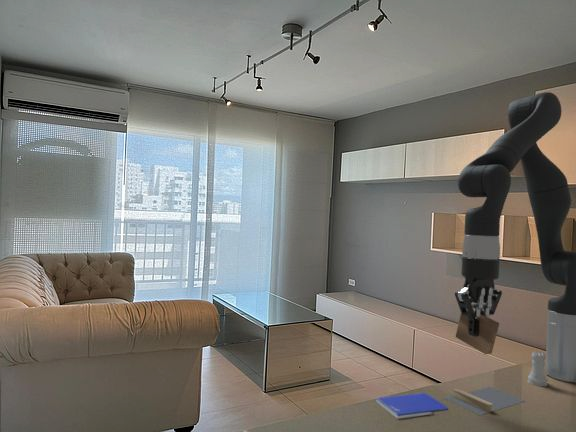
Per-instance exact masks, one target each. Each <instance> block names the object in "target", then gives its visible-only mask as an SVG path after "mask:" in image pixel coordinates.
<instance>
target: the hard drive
mask: <svg viewBox="0 0 576 432" xmlns="http://www.w3.org/2000/svg"><path fill="white" fill-rule="evenodd" d="M378 398H379V399H378ZM375 400H376V403H377V404H378V405H379V406H381V407H382V408H383V409H384V410H386V411H387V412H388V413H389V414H390V415H391V416H393V417H395V418H396V419H397V420H398V419H399V420H400V419H407V418H413V417H420V416H421V417H423V416H427V415H435V412H438V411H446V410H449V408H448V407H447V405H445V404H443V403H442V402H440V401H438V400H437V399H435V398H434V397H432V396H431V395H430V394H427V393H426V392H420V393H414V394H413V393H412V394H403V395H393V396H385V397H383V396H382V397H376V399H375Z"/></svg>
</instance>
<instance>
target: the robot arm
mask: <svg viewBox="0 0 576 432" xmlns="http://www.w3.org/2000/svg"><path fill="white" fill-rule="evenodd" d="M561 105H562V104H561V101H560V100H559V97H558V96H557V95H556V94H555V93H554V92H553V93H552V92H549V91H548V92H545V91H544V92H540V93H536V94H533V95H529V96H526V97H523V98H519V99H516V100H514V101H511V103H509V105H508V108H507V118H508V124H509V128H510V129H509V130H508V131H506V132H505V133H503V134H502V135H500V136H499V137H498V138H497V139H496V140H495V141H493V143H492V145H490V147H489V148H488V150H486V152H485V153H484V154H482V155H480V156H478V157H477V158H476V159H474V160H473V161H471V162H470V163H468V164H466V166H465V167H463V169H462V170H461V171H460V173H459V176H458V178H457V187H458V190H459V191H460V194H462V195H463V196H465V197H468V198H485V200H484V202H483V204H482V205H480V206H479V207H474V208H469V209H468V210H467V211H466V212H465V216H464V235H463V240H462V253H461V276H462V277H464V279H465V280H464V283H463V286H462V287H463V288H462V289H461V290H460V291H459V290H455V292H454V296H455V299H456V302H457V304H458V308H459V310H460V314H461V313H462V315H465V316H467V317H468V318H469V322H468V332H469V335H472V336H475V337H477V336H479V320H478V319H479V318H480V314H482V315H484V316H486V317H488V318H490V316H491V315H492V316H494V315H495V313H496V310H497V309H498V305H499V303H500V300H501V298H502V295H503V292H502V290H499V289H496V288H495V280H498V279H499V277H500V259H501V257H500V256H501V243H500V226H501V225H500V224H501V223H500V222H501V217H502V212H503V209H504V207H505V202H506V200H507V197H508V195H509V191H510V188H511V185H512V177H511V173H512V172H513V170H514V169H515V168H516V166H517V165H518V164H519V162H521V165H522V171H523V175H524V179H525V185H526V189H527V190H526V191H527V193H528V199H529V204H530V207H531V211H532V214H533V219H534V224H535V228H536V234H537V240H538V241H537V242H538V249H539V258H540V259H539V260H540V266H541V271H542V273H543V277H545V280H547V281H548V282H549V283H552V284H555V285H560V286H564V287H565V289H564V290H565V291H564V293H563V294H562V295H560V296H557V297H552V298H549V299H548V303H547V317H546V318H547V324H546V325H547V326H546V350H545V351H546V353H545V357H546V359H545V370H544V373H545V375H548V377H550V378H553V379H556V380H558V381H559V380H560V381H563V382H568V383H576V251H571V250H570V251H568V250H565V248H564V246H563V241H562V228H563V225H564V223H565V221H566V219H567V217H568V214H569V212H570V209H571V205H572V198H571V197H572V196H571V193H570V188H569V184H568V183H569V182H568V179H567V177H566V175H565V173H563V171H562V170H561V169H560V168H559V166H557V165H556V164H555V163H554V162H552V160H551V159H550V158H548V157H547V156H546V155H545V154H544V153H543V151H542V150H541V149H540V148H539V146H538V144H537V142H538V141H539V140H541V139H542V138H543V137H544V136H545V135H546V134H548V133H549V132H551V130H553V129H554V128H555V127H556V126H557V125H558V123H559V122H560V121H561V118H562V117H561V116H562V106H561ZM466 309H467V310H466ZM474 311H475V313H474Z"/></svg>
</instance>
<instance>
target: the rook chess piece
mask: <svg viewBox="0 0 576 432" xmlns="http://www.w3.org/2000/svg"><path fill="white" fill-rule="evenodd" d="M530 356H531V358H532V361H531V363H532V367H531V371H530V373H529V375H528V376H527V383H528V384H530V385H533V386H537V387H538V386H539V387H547V386H548V378H547V376H546V373H545V370H544V367H545V366H544V365H545V362H544V361H546V355H545V353H544V352H541V351H537V350H536V351H535V350H534V351H532V354H531V355H530Z"/></svg>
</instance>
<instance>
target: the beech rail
mask: <svg viewBox="0 0 576 432" xmlns="http://www.w3.org/2000/svg"><path fill="white" fill-rule="evenodd" d="M452 396H453V397H455V398H458V399H460V400H462V401H464V402H467V403H469V404H471V405H473V406H475V407H478V408H480V409H482V410H484V411H486V412H489V413H492V411H493V404H492V403H490V402H487V401H485V400H483V399H480V398H478V397H476V396H473V395H471V394H469V393H467V392H466V391H464V390H461V389H459V388H454V389H452ZM493 412H494V411H493Z"/></svg>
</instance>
